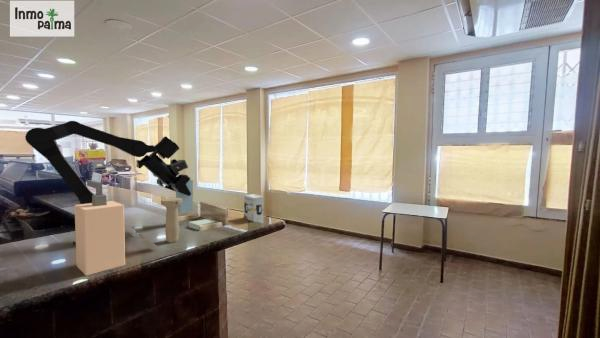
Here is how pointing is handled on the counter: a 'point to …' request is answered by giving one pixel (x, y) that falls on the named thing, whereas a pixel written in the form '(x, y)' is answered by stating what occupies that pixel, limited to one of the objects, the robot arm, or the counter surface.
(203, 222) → the pale green block
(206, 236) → the counter surface
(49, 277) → the counter surface
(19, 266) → the counter surface
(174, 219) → the handle
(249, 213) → the ink box
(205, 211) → the rack
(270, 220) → the counter surface
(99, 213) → the soap dispenser
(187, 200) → the light blue block
